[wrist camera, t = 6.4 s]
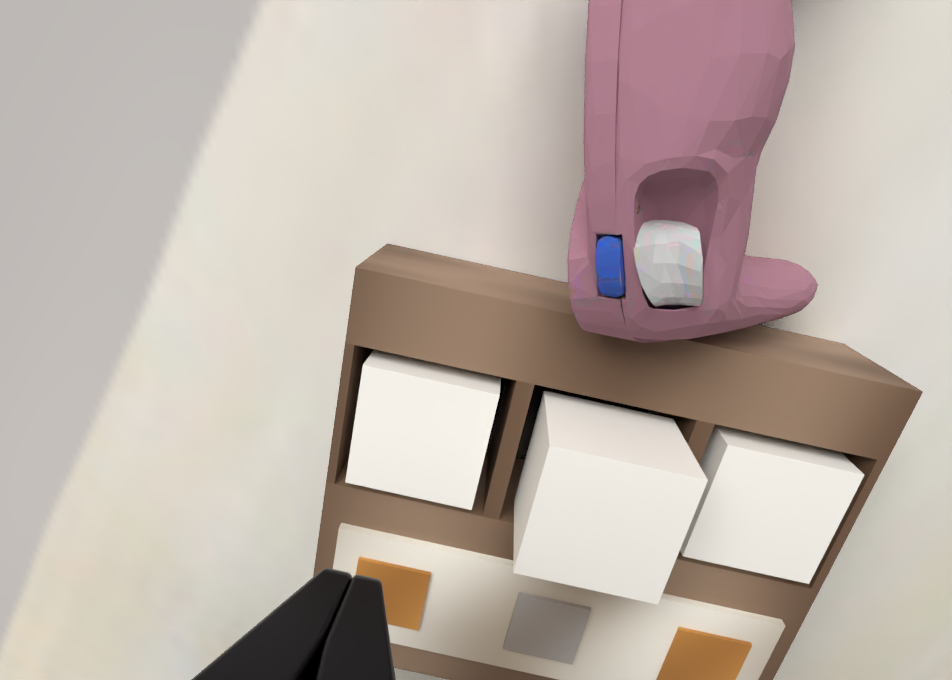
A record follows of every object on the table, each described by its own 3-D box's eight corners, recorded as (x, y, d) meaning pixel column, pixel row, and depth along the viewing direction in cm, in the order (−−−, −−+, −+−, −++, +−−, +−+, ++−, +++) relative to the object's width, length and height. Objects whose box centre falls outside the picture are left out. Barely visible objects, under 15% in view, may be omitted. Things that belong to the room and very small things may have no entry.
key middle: (673, 418, 13) (708, 480, 10) (633, 526, 14) (657, 604, 11) (543, 390, 13) (549, 445, 10) (514, 499, 14) (513, 573, 11)
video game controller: (650, -132, 13) (506, -357, 7) (897, -199, 11) (976, -605, 5) (625, 293, 16) (508, 375, 10) (812, 312, 14) (798, 430, 8)
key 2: (808, 421, 14) (865, 474, 12) (764, 517, 15) (809, 583, 13) (693, 396, 14) (727, 445, 12) (657, 493, 15) (682, 556, 13)
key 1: (502, 354, 14) (499, 395, 12) (478, 454, 15) (471, 510, 13) (388, 329, 14) (362, 364, 12) (371, 431, 15) (345, 482, 13)
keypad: (844, 343, 15) (932, 397, 11) (704, 649, 18) (743, 754, 15) (387, 243, 14) (351, 270, 11) (337, 568, 18) (299, 657, 15)
